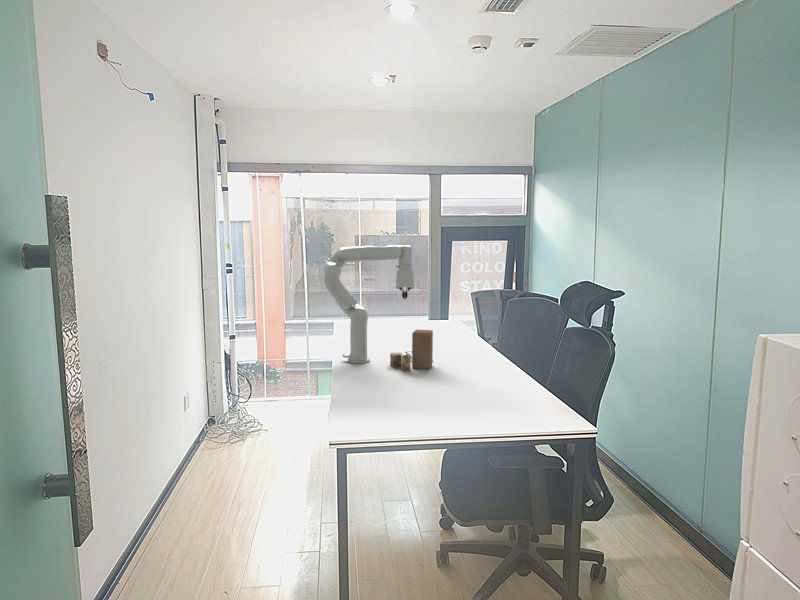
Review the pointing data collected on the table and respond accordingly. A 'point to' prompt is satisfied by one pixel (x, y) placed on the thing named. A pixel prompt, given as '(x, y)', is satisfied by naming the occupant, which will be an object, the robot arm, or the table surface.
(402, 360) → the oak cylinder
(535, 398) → the table surface
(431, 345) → the block
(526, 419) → the table surface
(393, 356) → the walnut block
